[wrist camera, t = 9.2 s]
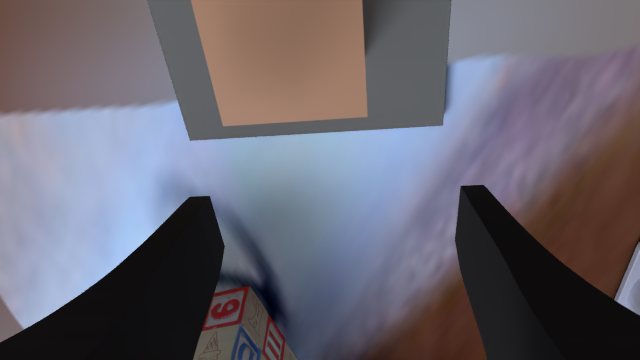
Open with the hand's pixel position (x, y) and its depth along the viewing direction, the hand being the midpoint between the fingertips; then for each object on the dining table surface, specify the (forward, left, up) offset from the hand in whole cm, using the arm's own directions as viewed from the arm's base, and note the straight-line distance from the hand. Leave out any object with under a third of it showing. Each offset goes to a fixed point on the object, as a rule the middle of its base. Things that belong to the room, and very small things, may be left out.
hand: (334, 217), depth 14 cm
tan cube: (+1, -4, -9) cm, 10 cm away
